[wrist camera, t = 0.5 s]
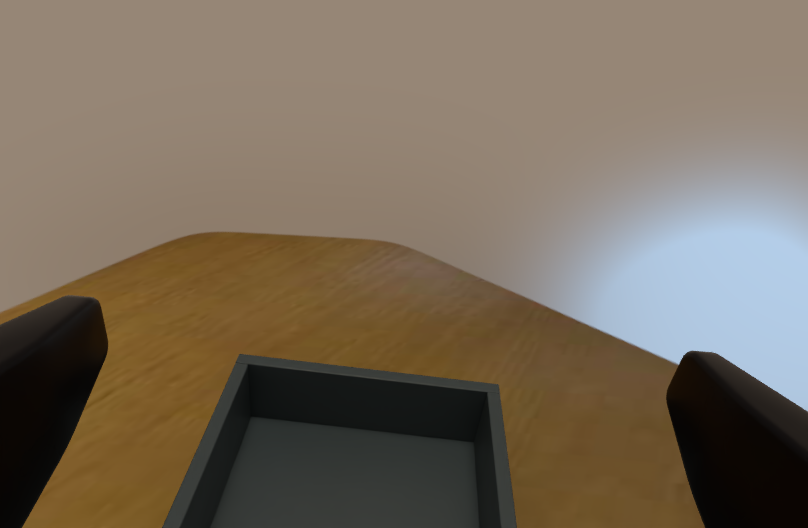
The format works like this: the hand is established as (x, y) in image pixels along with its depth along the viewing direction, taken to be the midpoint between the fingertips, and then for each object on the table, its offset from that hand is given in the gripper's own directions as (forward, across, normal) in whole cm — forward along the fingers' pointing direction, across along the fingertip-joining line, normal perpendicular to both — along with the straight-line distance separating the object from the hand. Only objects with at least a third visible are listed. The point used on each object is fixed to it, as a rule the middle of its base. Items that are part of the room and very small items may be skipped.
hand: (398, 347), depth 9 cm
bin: (+7, 0, +16) cm, 18 cm away
